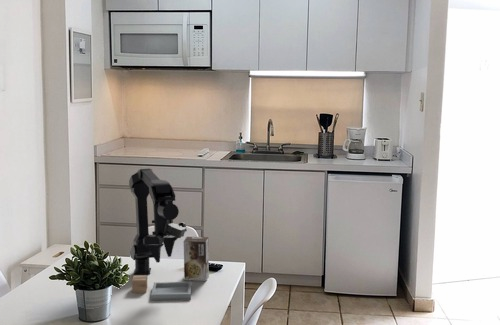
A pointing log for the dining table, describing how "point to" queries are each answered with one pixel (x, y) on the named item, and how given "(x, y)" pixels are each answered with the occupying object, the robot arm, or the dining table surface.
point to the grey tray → (171, 291)
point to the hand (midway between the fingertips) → (163, 259)
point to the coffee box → (196, 258)
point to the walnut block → (139, 284)
